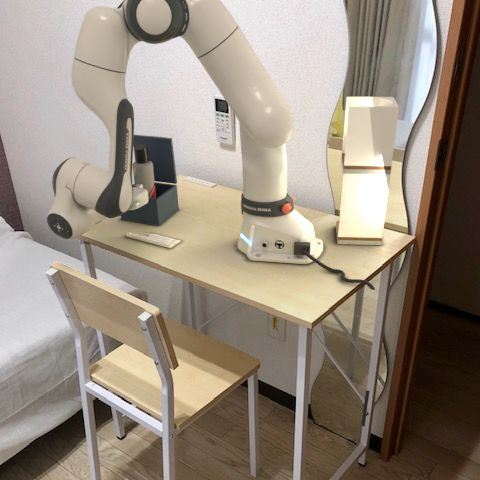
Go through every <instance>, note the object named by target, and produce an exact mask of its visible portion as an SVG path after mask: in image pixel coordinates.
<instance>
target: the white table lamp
mask: <svg viewBox="0 0 480 480" xmlns="http://www.w3.org/2000/svg"><path fill="white" fill-rule="evenodd" d="M399 111H400V105H399V104H398V103H397V101H396V99H395V97H394V96H346V97H345V111H344V122H343V132H342V133H343V134H342V147H341V160H340V168H341V169H340V170H341V175H342V184H341V196H340V207H339V218H338V220H336V222H335V223H336V224H335V233H336V242H337V245H360V246H361V245H362V246H364V245H365V246H382V243H383V235H384V227H385V220H386V212H387V205H388V198H389V197H388V196H389V191H390V190H389V189H390V180H391V174H392V166H393V157H394V151H395V143H396V141H395V140H396V135H397V129H398V128H397V127H398V119H399Z"/></svg>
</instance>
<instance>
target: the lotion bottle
mask: <svg viewBox="0 0 480 480" xmlns="http://www.w3.org/2000/svg"><path fill="white" fill-rule="evenodd" d="M133 156H134V162H132V176H133V184H135V185H137V184H142V185H143V188H144V189H146V190H147V192H148V198H154V199H156V191H155V182H156V181H154V172H153V164H152V162H151V161H149V156H148V148H147V147H146V145H144V144H141V145H137V146H135V147H134V146H133Z"/></svg>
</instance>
